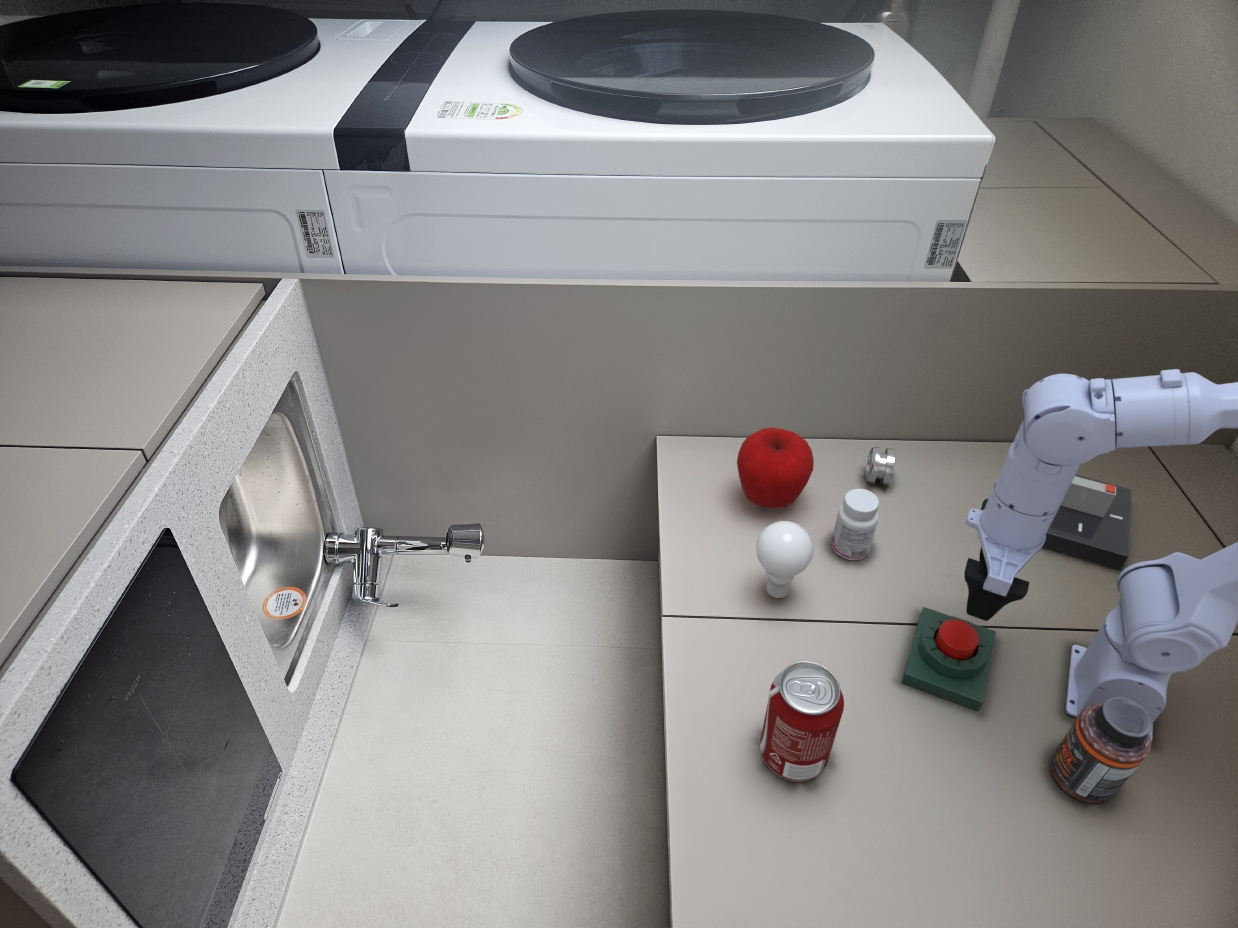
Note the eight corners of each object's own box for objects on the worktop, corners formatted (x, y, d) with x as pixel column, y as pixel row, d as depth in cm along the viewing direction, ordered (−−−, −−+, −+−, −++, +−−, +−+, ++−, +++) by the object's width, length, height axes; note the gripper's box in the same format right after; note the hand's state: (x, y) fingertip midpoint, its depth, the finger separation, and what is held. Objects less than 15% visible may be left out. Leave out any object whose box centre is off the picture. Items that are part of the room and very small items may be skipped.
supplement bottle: (1040, 745, 81) (1081, 682, 74) (1101, 750, 81) (1149, 687, 73) (1058, 803, 77) (1104, 742, 69) (1123, 808, 76) (1177, 748, 69)
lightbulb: (784, 622, 93) (796, 560, 86) (739, 594, 96) (747, 531, 89) (813, 590, 97) (828, 527, 89) (770, 564, 100) (780, 501, 92)
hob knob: (1060, 505, 103) (1072, 481, 100) (1061, 497, 104) (1073, 473, 101) (1103, 517, 101) (1116, 493, 98) (1104, 509, 102) (1117, 485, 99)
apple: (747, 530, 104) (755, 468, 97) (722, 481, 111) (728, 420, 104) (818, 516, 106) (831, 454, 98) (789, 469, 113) (800, 408, 105)
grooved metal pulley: (887, 493, 109) (895, 465, 105) (864, 489, 109) (871, 462, 106) (887, 468, 112) (894, 441, 109) (865, 465, 113) (872, 438, 110)
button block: (978, 711, 84) (988, 692, 82) (901, 682, 87) (908, 663, 85) (992, 640, 91) (1001, 621, 89) (919, 615, 94) (926, 596, 91)
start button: (971, 665, 85) (975, 655, 84) (932, 651, 86) (936, 641, 85) (977, 637, 87) (981, 627, 86) (939, 624, 89) (943, 614, 88)
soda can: (827, 790, 78) (848, 725, 70) (757, 778, 79) (770, 713, 71) (826, 727, 83) (846, 660, 75) (760, 717, 84) (773, 650, 76)
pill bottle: (837, 528, 104) (849, 481, 98) (874, 541, 102) (887, 494, 97) (825, 552, 101) (836, 505, 95) (862, 566, 99) (876, 519, 94)
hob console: (1120, 570, 98) (1128, 555, 96) (1024, 541, 102) (1030, 526, 100) (1123, 502, 107) (1131, 488, 105) (1034, 478, 110) (1041, 464, 109)
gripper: (993, 436, 80) (957, 530, 89) (967, 531, 71) (929, 625, 80) (1070, 457, 78) (1024, 551, 87) (1054, 558, 68) (1004, 652, 77)
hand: (983, 588), depth 83 cm, fingers open, 7 cm apart
